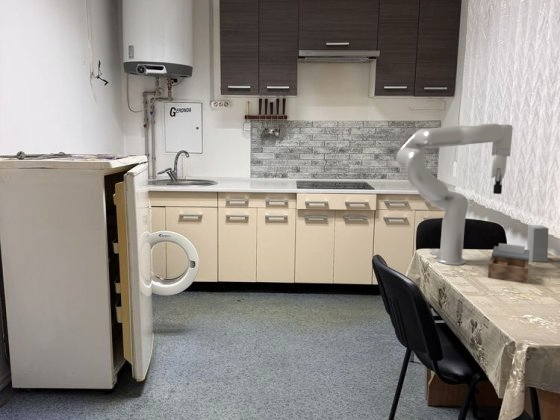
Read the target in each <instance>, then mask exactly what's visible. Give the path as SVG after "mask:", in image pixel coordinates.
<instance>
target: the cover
mask: <svg viewBox="0 0 560 420" xmlns="http://www.w3.org/2000/svg"><path fill="white" fill-rule="evenodd" d="M525 246H526V245H517V244H509V243H501V242H499V243H498V246H496V245H494V246H493V250H492V252H491V257H492V256H499V257H507V258H515V259H523V260H529V261H530V259H529V251H530V250H527V249H526V247H525Z"/></svg>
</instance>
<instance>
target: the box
mask: <svg viewBox="0 0 560 420" xmlns="http://www.w3.org/2000/svg"><path fill="white" fill-rule="evenodd" d="M490 257H491V258H490V260H489V263H488V271H487V279H494V280H499V281H506V282H512V283H513V282H515V283H519V284H528V275H529V265H530V264H529V263H530V259H529V260H523V259H515V258H507V257H499V256H492V255H491V256H490Z"/></svg>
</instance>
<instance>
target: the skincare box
mask: <svg viewBox="0 0 560 420" xmlns="http://www.w3.org/2000/svg"><path fill="white" fill-rule="evenodd" d="M527 228H528V229H527V245H526V247H527V248H526V250H530V251H529V260H531V261H532V262H542V263H543V262H544V263H546V262H548V251H549V249H548V248H549V247H548V246H549V230H550V229H549V227H547V226H544V225H537V224H536V225H527Z"/></svg>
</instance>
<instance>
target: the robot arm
mask: <svg viewBox="0 0 560 420" xmlns="http://www.w3.org/2000/svg"><path fill="white" fill-rule="evenodd" d="M513 130H514V128H513V125H512V124H498V123H482V124H481V123H480V124H479V125H451V126H444V127H443V126H442V127H441V126H440V127H433V128H420V129H418V130H417V131H416V132H414V133H413V135H412V136H410V138H409V139H408V140H407V141H406V142H405V143H404V144H403V145H402V147H400V149H399V150H398V151H397V154H396V156H395V157H396V162H397V163H398V165H400V166H401V167H405V169H406V178H407V180H408V182H409V183H410V184H411V185H412V186H413V187H414V188H416V189H417V192H418V194H419V196H421V198H423V199H424V200H425V201H427V202H428V203H430V204H431V205H432V206H434V207H436V208H437V209H439V210H441V211H444V214H443V218H442V222H441V233H440V234H441V236H440V249H439V250H434V249H430V252H429V254H431V256H436V258H435V260H436V262H438V263H440V264H444V265H448V266H449V265H450V266H459V265H460V266H461V265H464V264H466V259H465V258H463V250H464V236H465V225H466V218H467V213H468V211H469V201H468V199H467V197H466V196H465V195H463V194H462V193H459V192H456V191H451V190H449V189H448V186H447V185H446V184H445V183H444V182H443V181H442V180H440V179H438V177H436V176H434V175H432V174H431V173H430V172H429V171H428V170H427V169H426V167H425V165H426V164H425V163H426V161H425V159H426V158H425V155H424V153H423V151H424V150H425V149H436V148H445V147H454V146H455V147H456V146H465V145H475V144H488V143H492V144H491V157H493V158H492V159H493V160H492V166H491V167H492V170H491V176H490V177H491V179H494V184H493V192H492V193H493V194H494V195H501V194H502V189H503V179H504V177H505V174H506V169H507V163H508V162H507V160H508V157H511V151H512V149H511V148H512V140H513Z"/></svg>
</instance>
